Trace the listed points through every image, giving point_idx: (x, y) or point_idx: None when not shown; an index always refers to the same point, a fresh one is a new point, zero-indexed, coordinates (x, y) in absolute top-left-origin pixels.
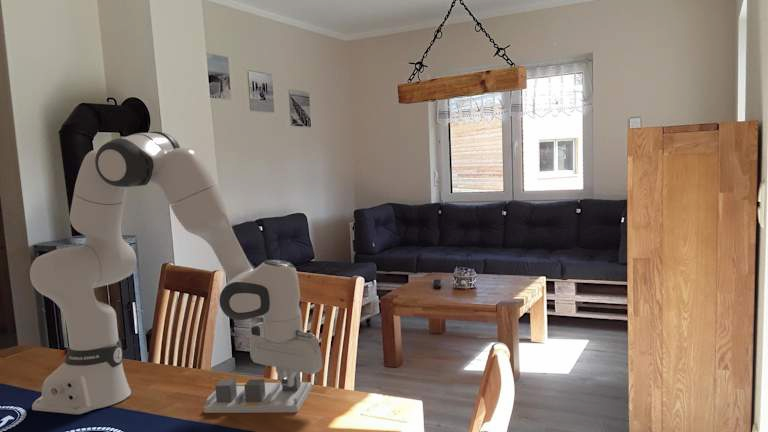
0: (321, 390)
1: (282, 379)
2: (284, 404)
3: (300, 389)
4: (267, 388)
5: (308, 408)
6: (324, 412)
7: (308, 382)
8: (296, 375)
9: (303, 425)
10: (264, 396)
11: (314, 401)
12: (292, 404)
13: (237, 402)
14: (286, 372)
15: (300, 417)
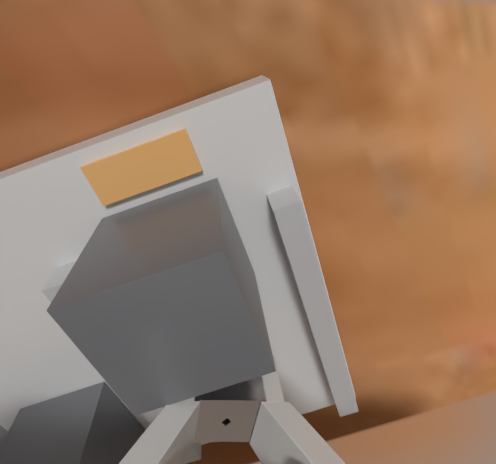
0: (349, 76)
1: (198, 437)
2: None
3: (315, 323)
4: (6, 303)
5: (371, 319)
6: (461, 323)
7: (244, 93)
8: (270, 353)
9: (407, 417)
10: (113, 396)
11: (370, 248)
12: (325, 396)
13: None
14: (130, 359)
15: (370, 385)
